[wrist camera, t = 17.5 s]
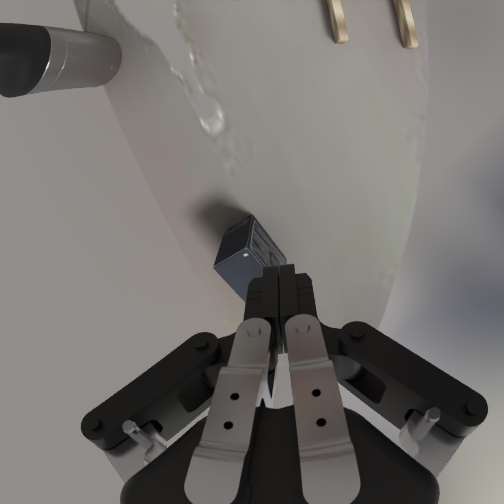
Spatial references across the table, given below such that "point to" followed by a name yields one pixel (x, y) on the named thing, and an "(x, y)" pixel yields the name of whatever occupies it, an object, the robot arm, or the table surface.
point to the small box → (246, 255)
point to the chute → (402, 14)
